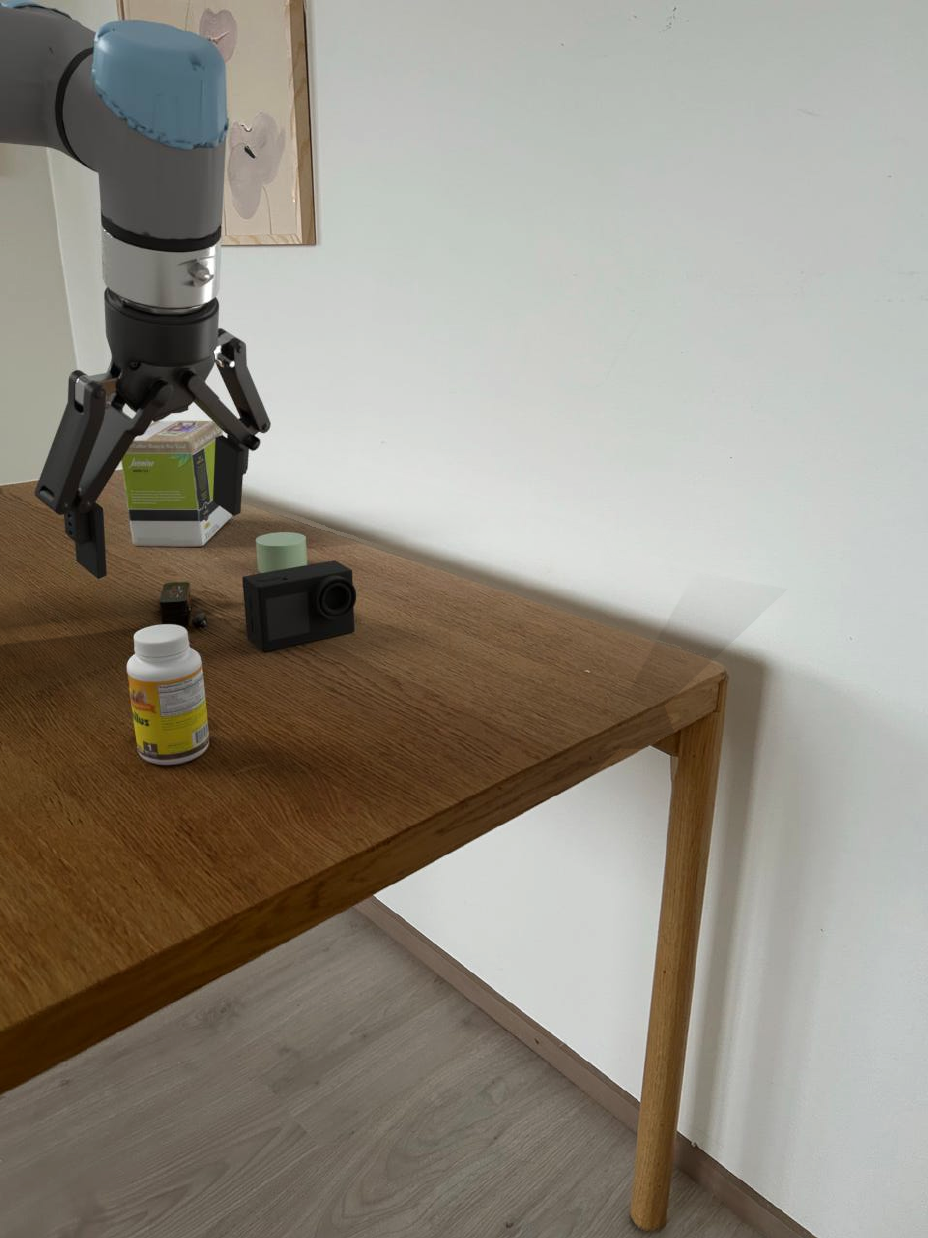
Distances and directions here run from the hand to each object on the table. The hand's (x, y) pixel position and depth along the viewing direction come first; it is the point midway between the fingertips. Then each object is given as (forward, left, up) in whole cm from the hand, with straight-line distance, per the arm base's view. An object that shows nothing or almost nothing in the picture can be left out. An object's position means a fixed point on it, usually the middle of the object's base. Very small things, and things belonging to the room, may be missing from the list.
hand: (162, 536), depth 79 cm
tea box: (-56, +6, -16) cm, 59 cm away
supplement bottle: (+9, -2, -16) cm, 18 cm away
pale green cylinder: (-31, +15, -15) cm, 38 cm away
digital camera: (-11, +13, -16) cm, 24 cm away
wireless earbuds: (-20, +2, -16) cm, 26 cm away
